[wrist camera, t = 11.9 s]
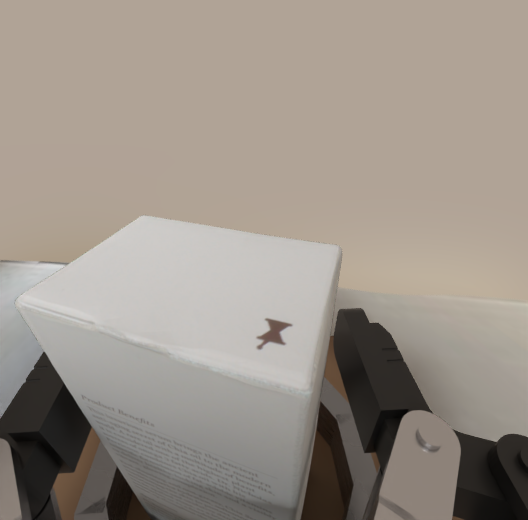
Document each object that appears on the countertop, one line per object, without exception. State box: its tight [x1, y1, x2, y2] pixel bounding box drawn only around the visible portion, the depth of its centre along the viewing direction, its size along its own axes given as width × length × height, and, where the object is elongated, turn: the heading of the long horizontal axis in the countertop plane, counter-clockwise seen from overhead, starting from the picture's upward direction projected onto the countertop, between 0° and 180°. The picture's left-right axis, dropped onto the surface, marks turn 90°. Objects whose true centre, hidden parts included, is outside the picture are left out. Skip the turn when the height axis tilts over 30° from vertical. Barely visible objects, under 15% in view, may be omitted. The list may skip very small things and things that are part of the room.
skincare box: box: [15, 215, 342, 520], centre depth 10 cm, size 6×4×12 cm
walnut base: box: [53, 336, 464, 520], centre depth 14 cm, size 20×16×2 cm
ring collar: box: [74, 377, 377, 520], centre depth 13 cm, size 11×11×2 cm
